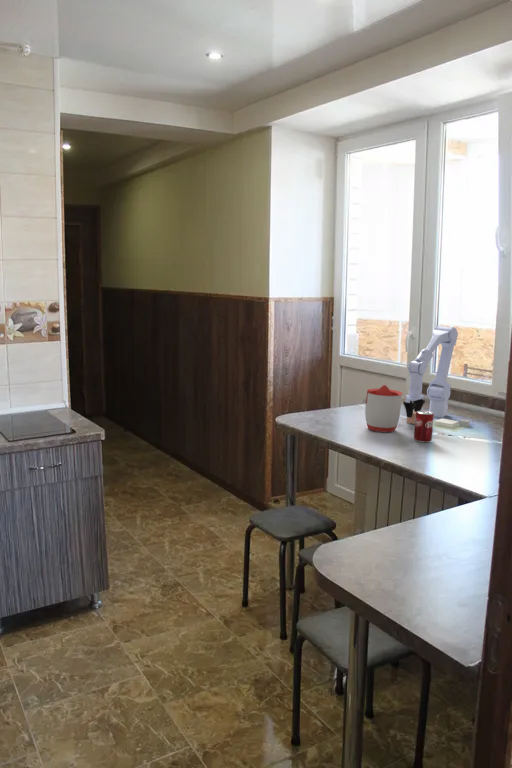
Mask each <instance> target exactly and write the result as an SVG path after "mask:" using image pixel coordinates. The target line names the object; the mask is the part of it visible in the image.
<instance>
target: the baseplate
mask: <svg viewBox="0 0 512 768" xmlns="http://www.w3.org/2000/svg"><path fill="white" fill-rule="evenodd" d="M436 420H437V419H434V420H433V429H434V428H435V429H440V430H444V431H449V432H455V433H457V432H459V431H461V430H465V429H468V427H462V426H459V424H458V426H456V427H454V428H445V427H440V426H435V425H434V421H436Z"/></svg>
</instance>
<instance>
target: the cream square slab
mask: <svg viewBox="0 0 512 768" xmlns="http://www.w3.org/2000/svg"><path fill="white" fill-rule="evenodd" d="M435 420H436V421H435ZM435 420H433V421H434V425H435V426H440V427H445V428H454V427H456V426H458V424H459V422H460V420H459V421H458V420H453V419H447V418H444V417H441V418H439V419H435Z"/></svg>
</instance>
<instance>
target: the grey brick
mask: <svg viewBox="0 0 512 768" xmlns="http://www.w3.org/2000/svg"><path fill="white" fill-rule="evenodd" d="M470 423H471V420H470V419H463V418H461V419H460V420H459V426H462V427H467V428H469V427H470Z"/></svg>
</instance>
